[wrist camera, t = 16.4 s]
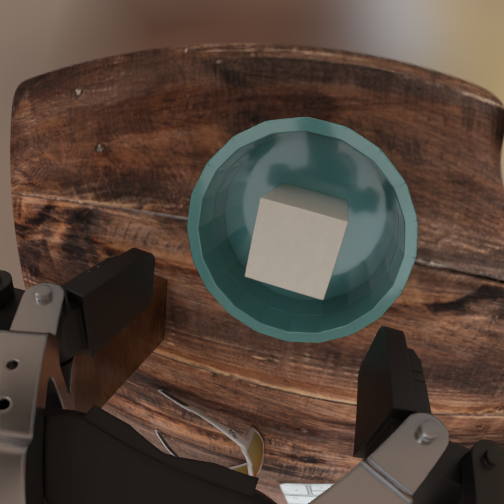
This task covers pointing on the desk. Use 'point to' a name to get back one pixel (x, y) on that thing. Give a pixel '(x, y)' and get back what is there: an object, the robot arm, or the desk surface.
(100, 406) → the block
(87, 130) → the desk surface
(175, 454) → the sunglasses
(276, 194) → the block
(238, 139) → the bowl
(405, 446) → the robot arm
